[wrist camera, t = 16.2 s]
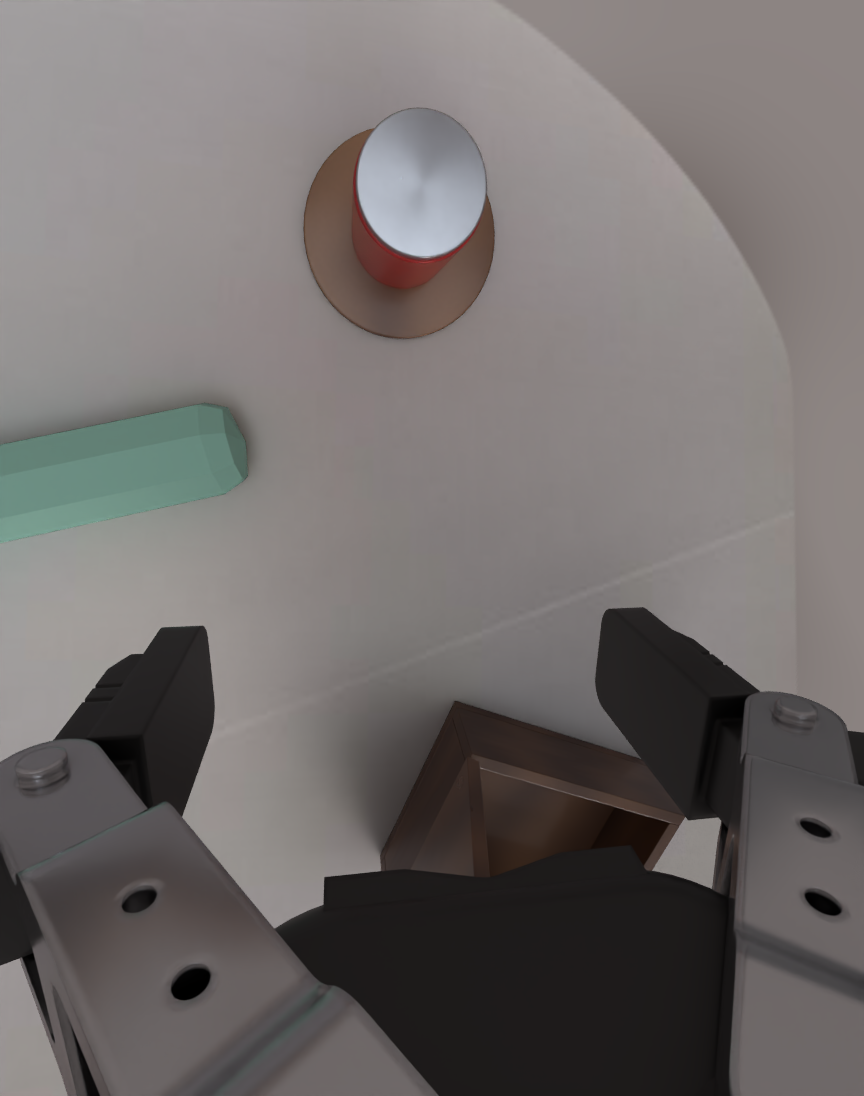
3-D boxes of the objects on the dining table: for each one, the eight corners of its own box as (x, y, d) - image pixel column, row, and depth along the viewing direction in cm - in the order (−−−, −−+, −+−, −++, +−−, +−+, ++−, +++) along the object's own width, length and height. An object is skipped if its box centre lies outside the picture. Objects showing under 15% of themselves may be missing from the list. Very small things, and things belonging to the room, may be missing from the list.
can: (454, 184, 30) (496, 113, 22) (447, 292, 32) (483, 266, 23) (352, 172, 30) (354, 94, 21) (350, 284, 31) (351, 254, 23)
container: (223, 416, 27) (-374, 539, 25) (262, 518, 31) (-251, 632, 29) (229, 366, 31) (-277, 467, 29) (262, 460, 35) (-182, 555, 33)
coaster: (500, 141, 31) (503, 137, 30) (483, 344, 34) (486, 344, 33) (304, 117, 29) (303, 112, 29) (304, 332, 32) (303, 331, 31)
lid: (508, 1068, 18) (350, 1010, 18) (349, 1331, 21) (210, 1286, 21) (479, 761, 34) (395, 727, 34) (390, 935, 37) (312, 906, 37)
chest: (643, 759, 44) (686, 816, 38) (562, 899, 47) (590, 969, 41) (454, 700, 40) (472, 753, 35) (379, 855, 43) (384, 927, 38)
